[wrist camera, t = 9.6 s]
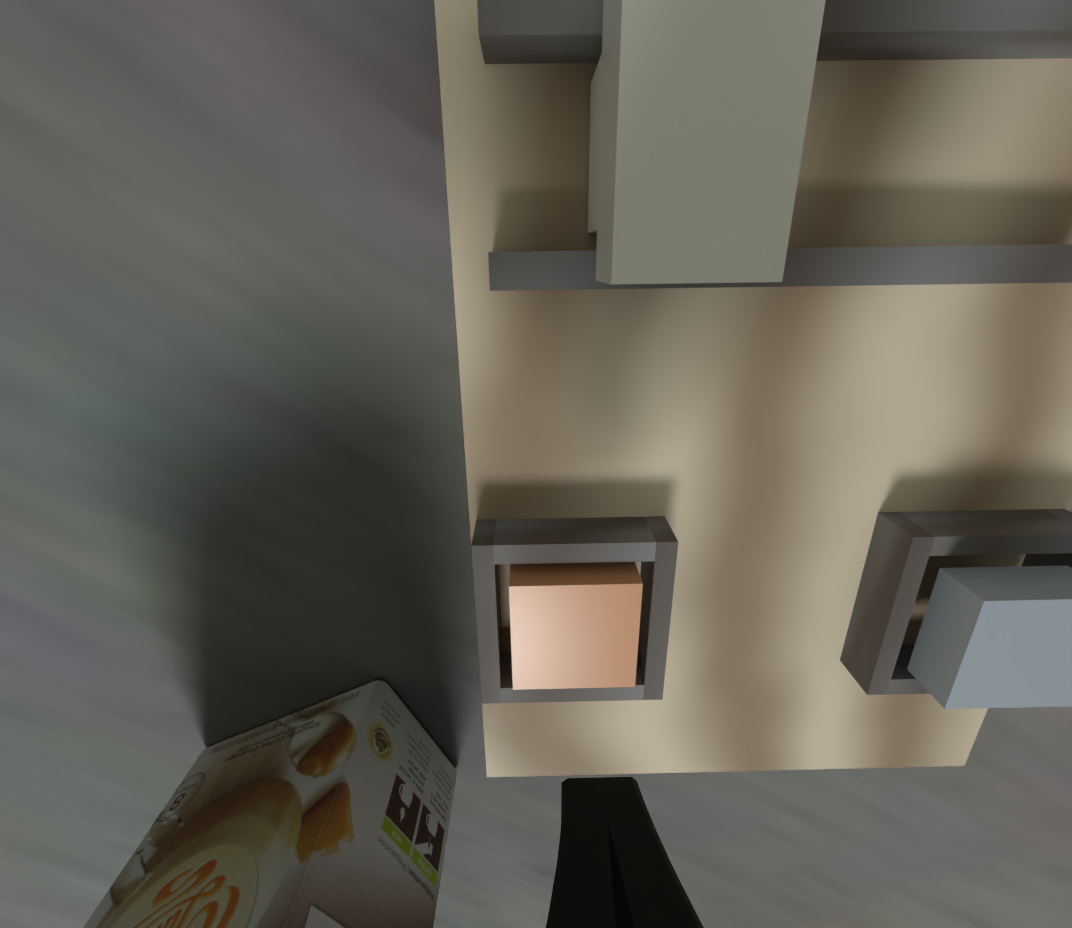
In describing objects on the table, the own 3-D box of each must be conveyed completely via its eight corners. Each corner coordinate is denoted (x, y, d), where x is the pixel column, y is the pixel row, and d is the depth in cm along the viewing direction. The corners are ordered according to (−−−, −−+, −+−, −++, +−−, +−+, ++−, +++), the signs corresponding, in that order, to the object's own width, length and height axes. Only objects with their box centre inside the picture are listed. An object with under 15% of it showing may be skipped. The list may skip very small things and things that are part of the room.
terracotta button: (632, 554, 15) (642, 583, 14) (626, 650, 16) (635, 686, 15) (510, 556, 15) (509, 586, 14) (513, 653, 16) (512, 689, 15)
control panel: (1166, -9, 13) (1426, -120, 9) (917, 711, 22) (998, 804, 18) (447, -3, 13) (414, -113, 9) (491, 721, 21) (484, 817, 18)
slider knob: (733, 25, 11) (840, -98, 7) (707, 276, 13) (782, 282, 9) (592, 26, 11) (625, -97, 7) (586, 278, 13) (611, 284, 9)
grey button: (1067, 565, 14) (1125, 598, 13) (1024, 666, 16) (1072, 706, 14) (939, 567, 14) (984, 601, 13) (907, 669, 16) (944, 709, 14)
